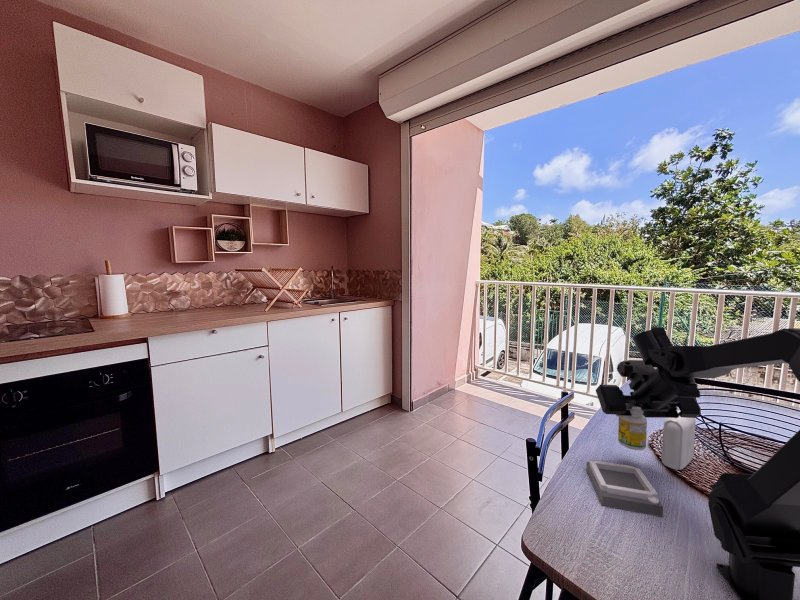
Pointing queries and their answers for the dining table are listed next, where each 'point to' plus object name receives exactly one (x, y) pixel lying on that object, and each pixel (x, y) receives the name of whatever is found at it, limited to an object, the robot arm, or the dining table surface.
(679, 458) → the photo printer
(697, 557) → the dining table surface
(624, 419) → the supplement bottle
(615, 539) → the dining table surface
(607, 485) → the grey square tray
